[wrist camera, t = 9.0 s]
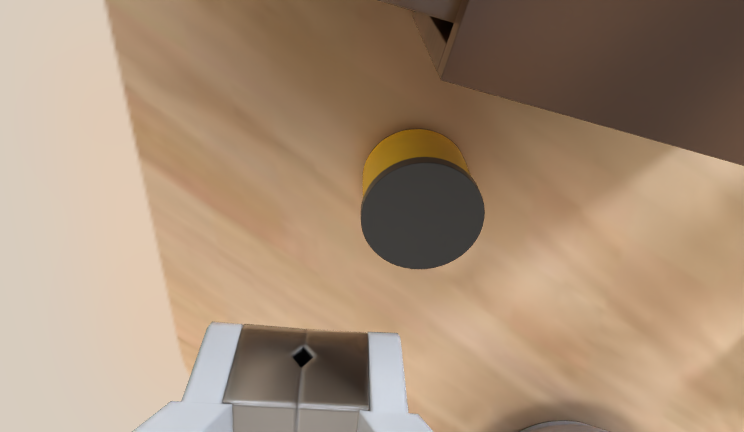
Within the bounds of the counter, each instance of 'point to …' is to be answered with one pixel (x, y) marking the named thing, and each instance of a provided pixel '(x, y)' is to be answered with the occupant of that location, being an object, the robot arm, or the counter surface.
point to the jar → (419, 200)
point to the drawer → (431, 7)
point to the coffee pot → (563, 427)
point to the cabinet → (607, 63)
